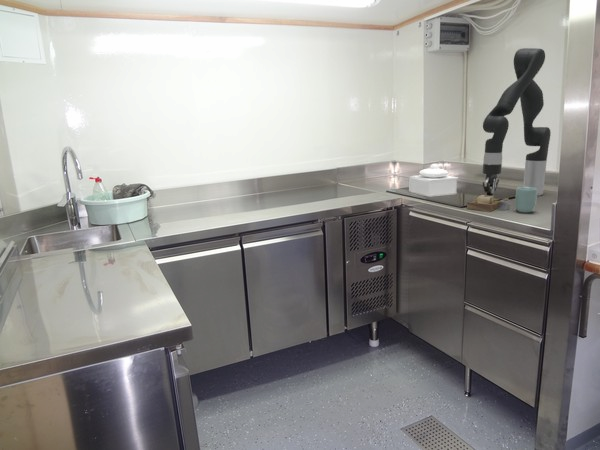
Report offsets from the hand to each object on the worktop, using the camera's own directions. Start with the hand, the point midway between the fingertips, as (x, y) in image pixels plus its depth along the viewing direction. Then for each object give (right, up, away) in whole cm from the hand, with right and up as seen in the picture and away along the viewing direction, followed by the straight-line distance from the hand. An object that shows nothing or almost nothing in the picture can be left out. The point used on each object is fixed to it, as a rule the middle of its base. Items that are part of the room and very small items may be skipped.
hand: (489, 201), depth 193 cm
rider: (-3, -3, -3) cm, 5 cm away
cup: (+9, -5, -13) cm, 17 cm away
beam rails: (0, -2, 0) cm, 2 cm away
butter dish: (-14, +6, +37) cm, 40 cm away
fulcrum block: (+3, -4, -7) cm, 9 cm away
